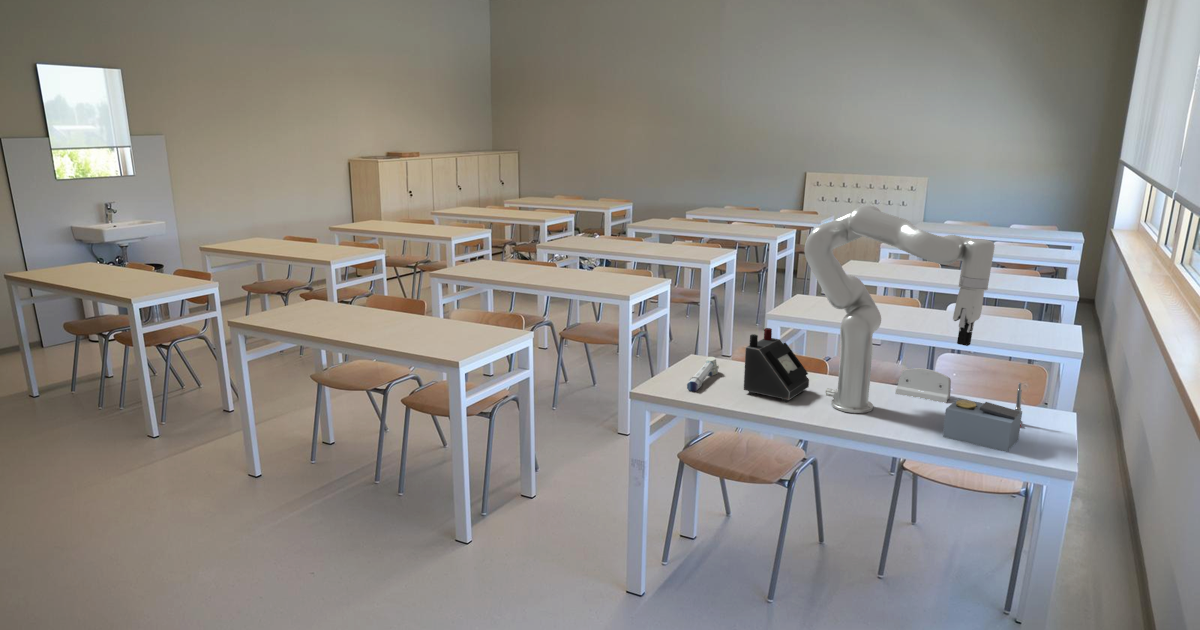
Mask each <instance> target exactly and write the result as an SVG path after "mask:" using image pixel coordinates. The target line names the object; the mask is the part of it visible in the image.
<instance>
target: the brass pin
mask: <svg viewBox="0 0 1200 630" xmlns="http://www.w3.org/2000/svg"><path fill="white" fill-rule="evenodd" d="M972 401H973V400H970V401H969V399H965V400H958V401H957V402H956V406H957V407H960V408H963V409H969V410H972V409H975V408H976V403H975V402H976V401H975V402H972Z"/></svg>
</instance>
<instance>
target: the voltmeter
mask: <svg viewBox="0 0 1200 630" xmlns="http://www.w3.org/2000/svg"><path fill="white" fill-rule="evenodd" d="M763 330H764V333H763V338H762V339H760V340H759V339H758V338H759V336H758V334H753V333H752V334H750V335H749V345H747V346H745V351H744V353H745V354H744V355H745V356H744V357H745V358H744V370H743V371H744V372H743V373H744V375H743V390H744V391H747V392H748V394H750V395H755V394H756V393H757V394H761V395H766V396H769V397H775V398H779V399H781V401H782V402H784V403H785V402H786V403H787V402H789V401H790V400H791V399H792V398H795V396H797V395H799V394H800V393H803V392H804V391H805V390H807V389H808V388H809V386H810V379H809V378H808V375H809V372H808V371H807V370H806V368H805V366H804V365H803V364H802V362H800V360H799V358H798V357H797V356H796V354H795V353H794V352H793V351H792V349H791V348H790V347H789V345H788V344H787V342H782V340H781V339H780V338H774V337H773V336H772V335H773V333H772V330H773V329H772V328H769V327H766V328H764V329H763Z"/></svg>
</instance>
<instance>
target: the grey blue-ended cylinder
mask: <svg viewBox="0 0 1200 630" xmlns="http://www.w3.org/2000/svg"><path fill="white" fill-rule="evenodd" d="M719 368H720V366H719V364H718V363H717V359H716V357H714V356H708V357H706V359H705V363H704V364H703V366H701V368H699V370H698V371H697V372H696V373H695V374H694V375H692V377H690V378H689V379H688V383H687V384H686V389H687V390H688V391H689V392H694V393H695V392H697V391H698V390H699V389H700V388H701V387H702V386H703V385H702V384H703V383H704V381H705V380H706V379H707V377H708V376H711V377H712V376H715V375H718V373H719V371H718V370H719Z"/></svg>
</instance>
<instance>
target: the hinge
mask: <svg viewBox="0 0 1200 630" xmlns="http://www.w3.org/2000/svg"><path fill="white" fill-rule="evenodd" d="M951 383H952V380H951V378H950V377H949V376H947V375H945V374H944V373H942V372H939V371H936V370H933V369H928V368H922V367H920V368H919V367H918V368H917V367H915V368H907V369H903V370H902V371H901V374H900V377H899V379H898V383H897V386H896V388H895V395H900V396H901V395H902V396H905V395H907V396H906V397H911V396H913V397H912V398H916V397H920V398H919V399H921V398H926V399H925V400H927V399H930V400H929V401H932V400H933V402H937V401H938V402H939V403H943V402H944V403H945V404H947V403H948V400H951ZM918 390H920V391H918ZM921 391H924V392H921ZM944 403H943V404H944Z"/></svg>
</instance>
